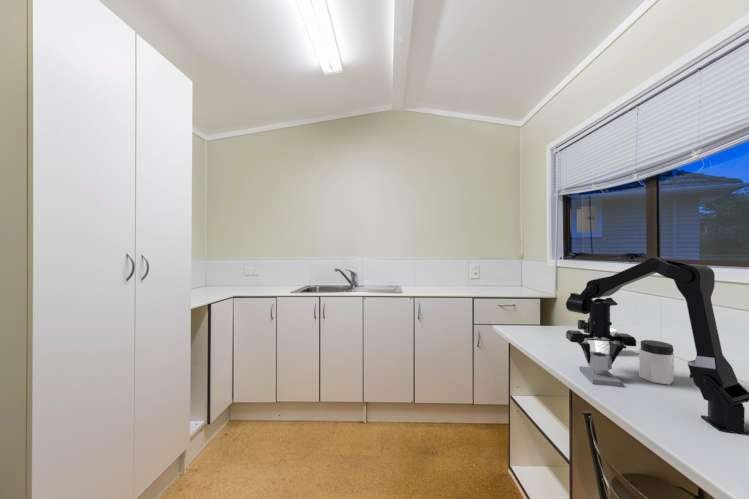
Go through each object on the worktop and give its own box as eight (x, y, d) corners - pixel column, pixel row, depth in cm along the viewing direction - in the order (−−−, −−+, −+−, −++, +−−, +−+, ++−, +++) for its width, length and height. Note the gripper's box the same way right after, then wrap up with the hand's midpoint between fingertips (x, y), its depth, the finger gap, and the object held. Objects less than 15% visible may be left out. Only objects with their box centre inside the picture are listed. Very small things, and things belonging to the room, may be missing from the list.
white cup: (615, 352, 135) (616, 328, 134) (618, 357, 128) (618, 332, 128) (593, 349, 139) (593, 326, 139) (594, 354, 132) (594, 329, 132)
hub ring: (614, 370, 104) (614, 358, 104) (592, 368, 105) (592, 356, 105) (606, 364, 110) (606, 352, 110) (585, 362, 111) (585, 350, 111)
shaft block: (621, 387, 101) (621, 366, 101) (592, 384, 103) (592, 364, 103) (605, 372, 112) (605, 354, 112) (579, 370, 115) (579, 352, 114)
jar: (668, 387, 101) (668, 349, 101) (636, 378, 108) (636, 342, 108) (677, 380, 106) (677, 344, 106) (645, 372, 113) (646, 338, 113)
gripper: (620, 313, 113) (620, 358, 113) (561, 311, 118) (561, 353, 118) (637, 320, 102) (637, 369, 102) (571, 317, 107) (571, 364, 107)
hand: (599, 363), depth 108 cm, fingers closed on hub ring, 6 cm apart
